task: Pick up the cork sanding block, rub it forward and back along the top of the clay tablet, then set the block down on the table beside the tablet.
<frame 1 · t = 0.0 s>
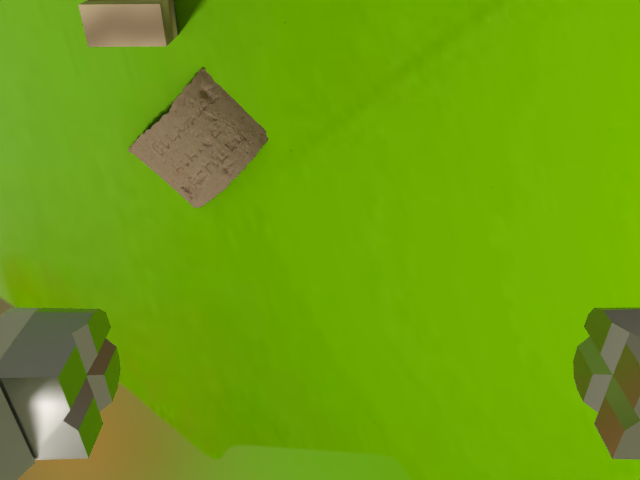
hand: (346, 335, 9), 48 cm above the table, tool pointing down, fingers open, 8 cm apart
sanding block: (139, 14, 52), on the table
clay tablet: (200, 140, 59), on the table
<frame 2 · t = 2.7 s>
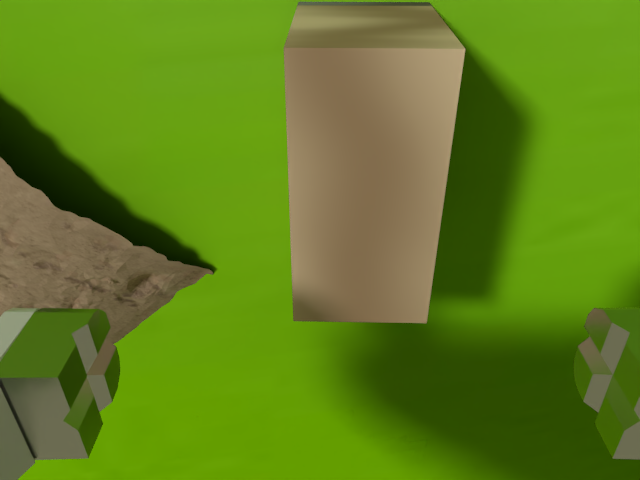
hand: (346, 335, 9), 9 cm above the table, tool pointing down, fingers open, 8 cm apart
sanding block: (358, 125, 17), on the table
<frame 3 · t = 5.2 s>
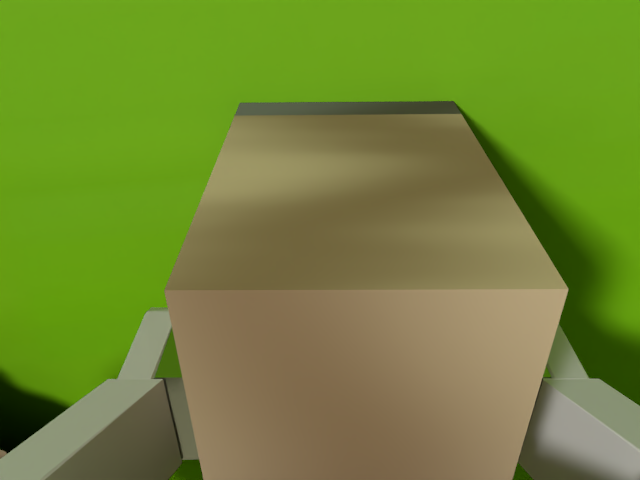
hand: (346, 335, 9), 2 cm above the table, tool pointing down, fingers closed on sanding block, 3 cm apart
sanding block: (343, 274, 11), on the table, touching gripper
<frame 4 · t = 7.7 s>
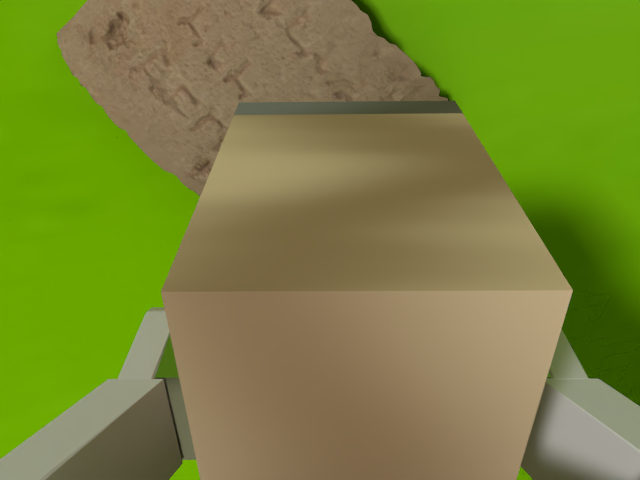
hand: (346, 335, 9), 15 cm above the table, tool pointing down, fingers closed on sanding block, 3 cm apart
sanding block: (343, 275, 11), point 13 cm above the table, touching gripper
clay tablet: (265, 71, 22), on the table
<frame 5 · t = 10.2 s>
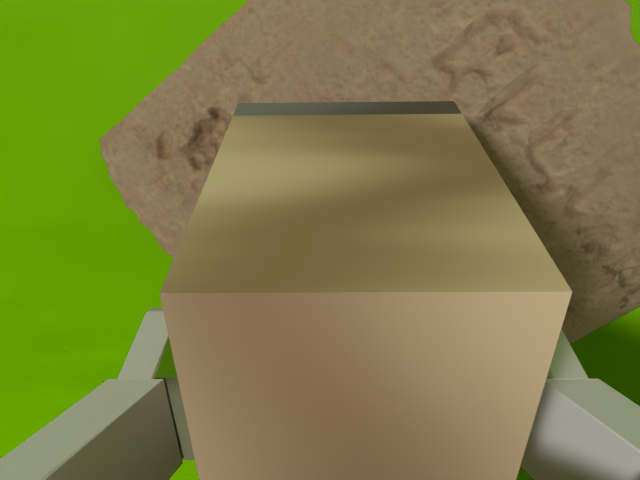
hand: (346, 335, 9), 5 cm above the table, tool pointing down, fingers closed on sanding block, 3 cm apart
sanding block: (343, 276, 11), point 3 cm above the table, touching gripper
clay tablet: (432, 187, 14), on the table
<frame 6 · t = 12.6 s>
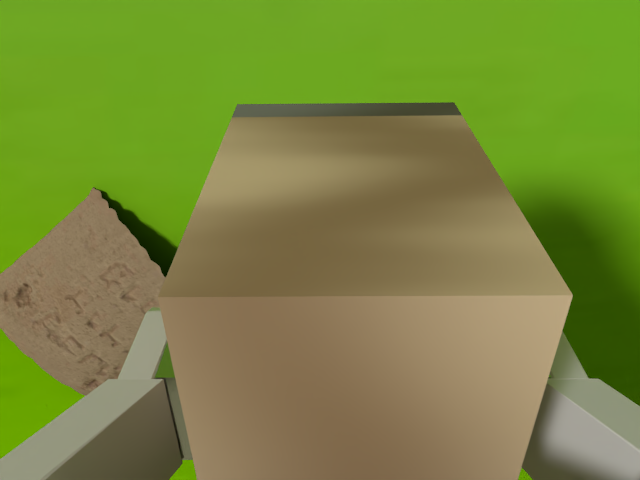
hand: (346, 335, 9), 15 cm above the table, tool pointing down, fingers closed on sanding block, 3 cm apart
sanding block: (342, 278, 11), point 14 cm above the table, touching gripper
clay tablet: (142, 307, 30), on the table
when the fingers open (3 cm above the table, at t = 14.8 s): sanding block drops 2 cm, on the table.
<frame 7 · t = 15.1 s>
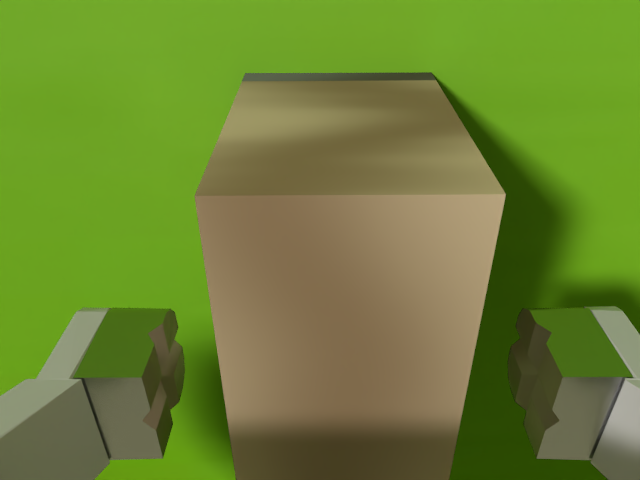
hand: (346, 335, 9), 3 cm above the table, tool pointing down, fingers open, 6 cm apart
sanding block: (336, 229, 12), on the table
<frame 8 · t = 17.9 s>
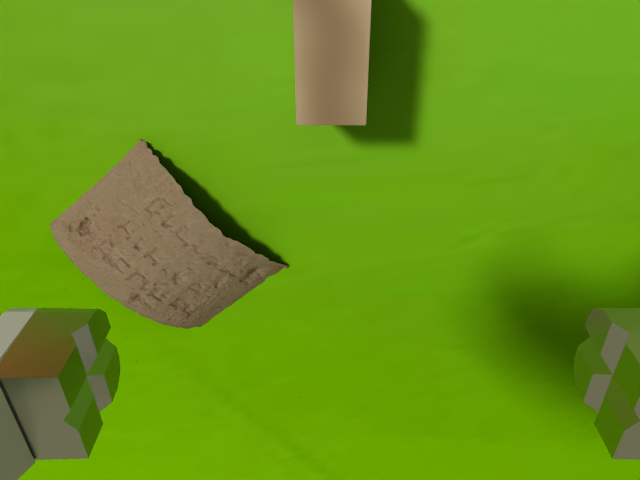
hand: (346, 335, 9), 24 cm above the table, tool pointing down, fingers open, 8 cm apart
sanding block: (331, 30, 30), on the table
clay tablet: (173, 239, 38), on the table
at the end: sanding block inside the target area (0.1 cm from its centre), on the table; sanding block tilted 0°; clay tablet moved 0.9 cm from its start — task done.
